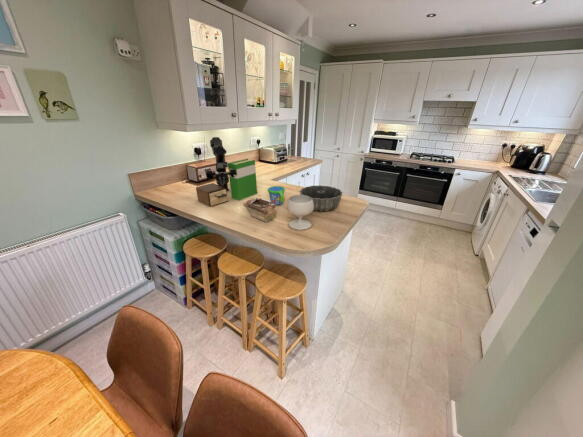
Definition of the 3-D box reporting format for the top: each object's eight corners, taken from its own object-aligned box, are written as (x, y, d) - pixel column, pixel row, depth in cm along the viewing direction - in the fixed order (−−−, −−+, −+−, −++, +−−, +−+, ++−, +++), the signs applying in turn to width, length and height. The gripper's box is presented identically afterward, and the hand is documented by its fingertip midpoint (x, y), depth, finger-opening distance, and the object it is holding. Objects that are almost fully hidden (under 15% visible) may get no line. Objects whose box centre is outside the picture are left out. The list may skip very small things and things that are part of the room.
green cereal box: (249, 191, 174) (247, 158, 163) (257, 193, 170) (254, 159, 159) (231, 198, 161) (227, 163, 150) (239, 200, 157) (235, 164, 147)
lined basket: (258, 227, 123) (257, 210, 118) (238, 215, 136) (236, 199, 131) (278, 219, 131) (277, 203, 126) (257, 209, 144) (256, 194, 140)
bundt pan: (309, 196, 164) (309, 182, 159) (346, 202, 153) (347, 188, 148) (292, 209, 143) (292, 194, 138) (333, 218, 132) (334, 202, 127)
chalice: (300, 216, 134) (300, 192, 127) (318, 225, 124) (320, 198, 118) (281, 224, 125) (281, 198, 118) (300, 234, 116) (300, 206, 109)
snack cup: (265, 200, 156) (264, 186, 152) (279, 198, 160) (279, 184, 156) (273, 209, 144) (273, 193, 139) (289, 206, 148) (289, 190, 143)
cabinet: (226, 201, 156) (224, 187, 151) (209, 206, 147) (207, 192, 143) (214, 196, 164) (212, 182, 160) (198, 200, 156) (195, 187, 152)
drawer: (231, 202, 151) (230, 191, 148) (215, 207, 143) (214, 195, 140) (216, 196, 162) (214, 185, 159) (200, 200, 154) (198, 189, 151)
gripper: (203, 157, 140) (204, 180, 135) (235, 156, 144) (237, 178, 139) (206, 167, 151) (207, 189, 146) (236, 166, 154) (238, 187, 150)
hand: (222, 185), depth 145 cm, fingers closed
